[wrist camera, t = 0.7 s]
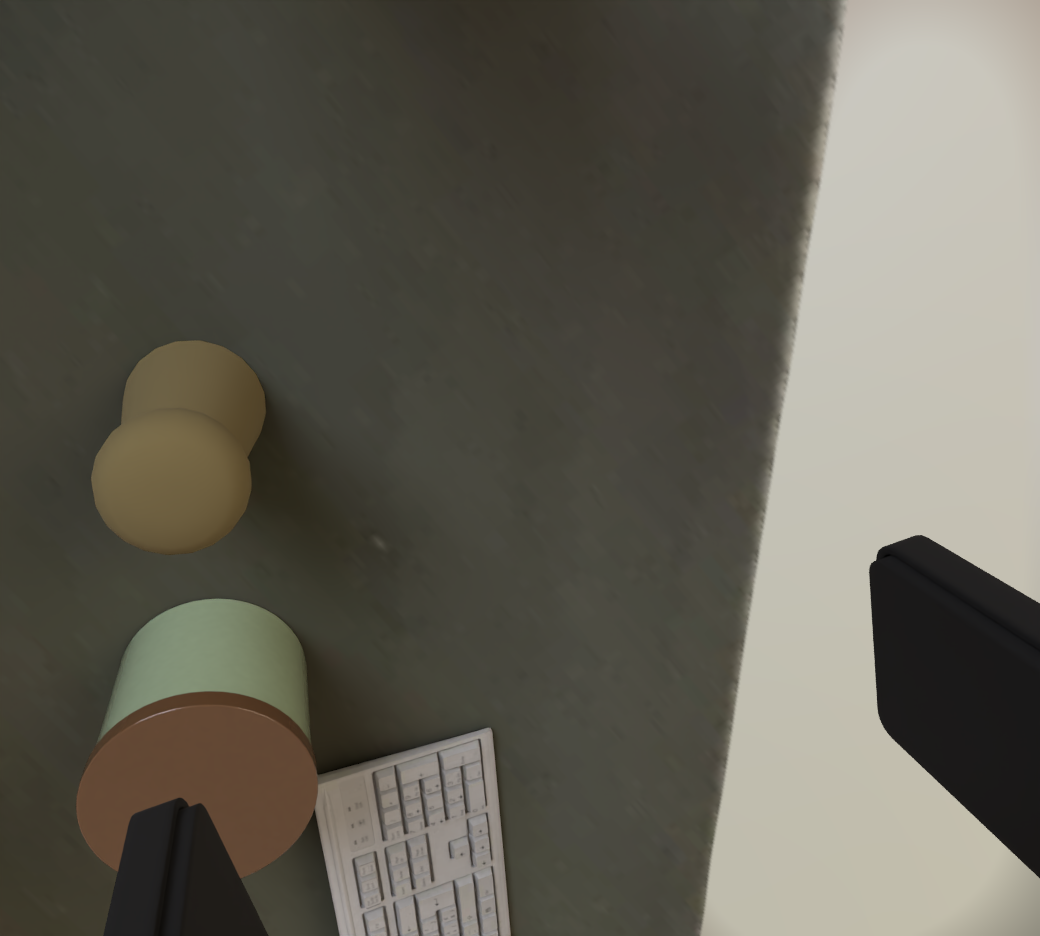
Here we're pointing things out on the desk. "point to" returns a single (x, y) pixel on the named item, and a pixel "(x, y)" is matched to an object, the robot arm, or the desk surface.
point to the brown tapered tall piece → (181, 449)
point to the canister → (206, 732)
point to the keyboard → (417, 842)
